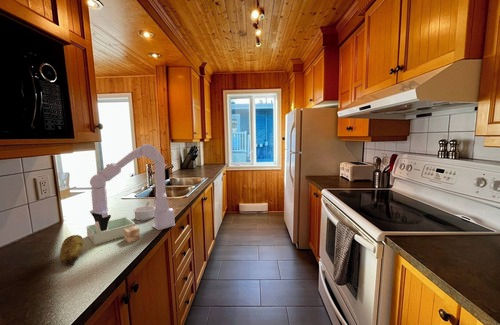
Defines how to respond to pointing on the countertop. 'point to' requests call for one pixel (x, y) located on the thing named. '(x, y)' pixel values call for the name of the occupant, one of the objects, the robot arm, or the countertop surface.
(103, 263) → the countertop surface
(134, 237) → the maple cube
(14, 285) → the countertop surface
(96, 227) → the pale pink egg
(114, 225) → the tote
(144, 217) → the saucepan
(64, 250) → the potato
